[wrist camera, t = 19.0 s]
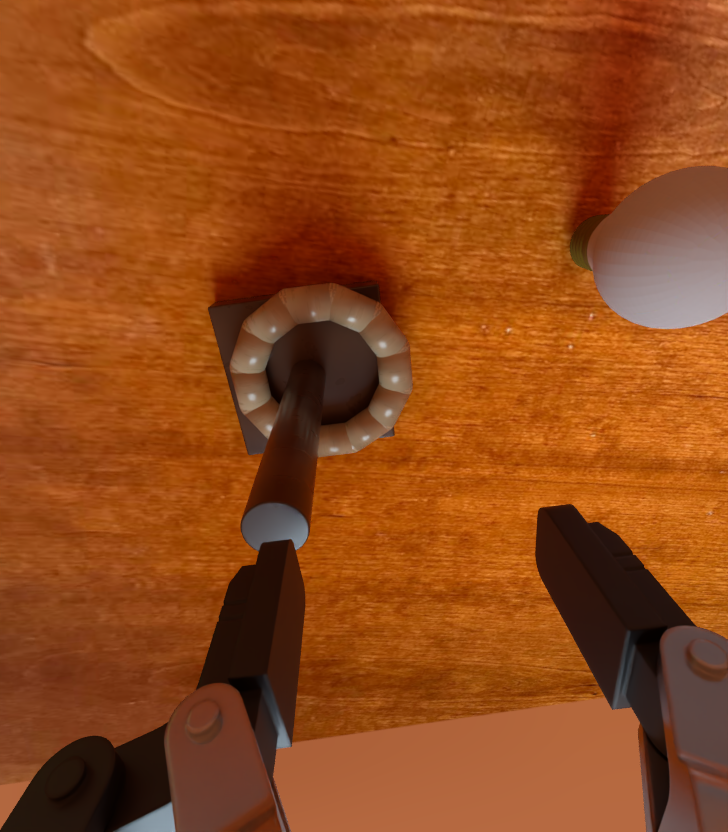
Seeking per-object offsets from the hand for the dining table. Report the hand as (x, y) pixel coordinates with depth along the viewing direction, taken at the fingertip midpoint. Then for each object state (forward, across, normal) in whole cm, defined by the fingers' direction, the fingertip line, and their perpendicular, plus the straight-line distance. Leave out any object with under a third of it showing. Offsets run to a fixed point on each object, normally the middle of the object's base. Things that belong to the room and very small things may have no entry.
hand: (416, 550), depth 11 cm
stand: (+16, +4, 0) cm, 17 cm away
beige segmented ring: (+14, +3, 0) cm, 14 cm away
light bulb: (+16, -12, -5) cm, 21 cm away
